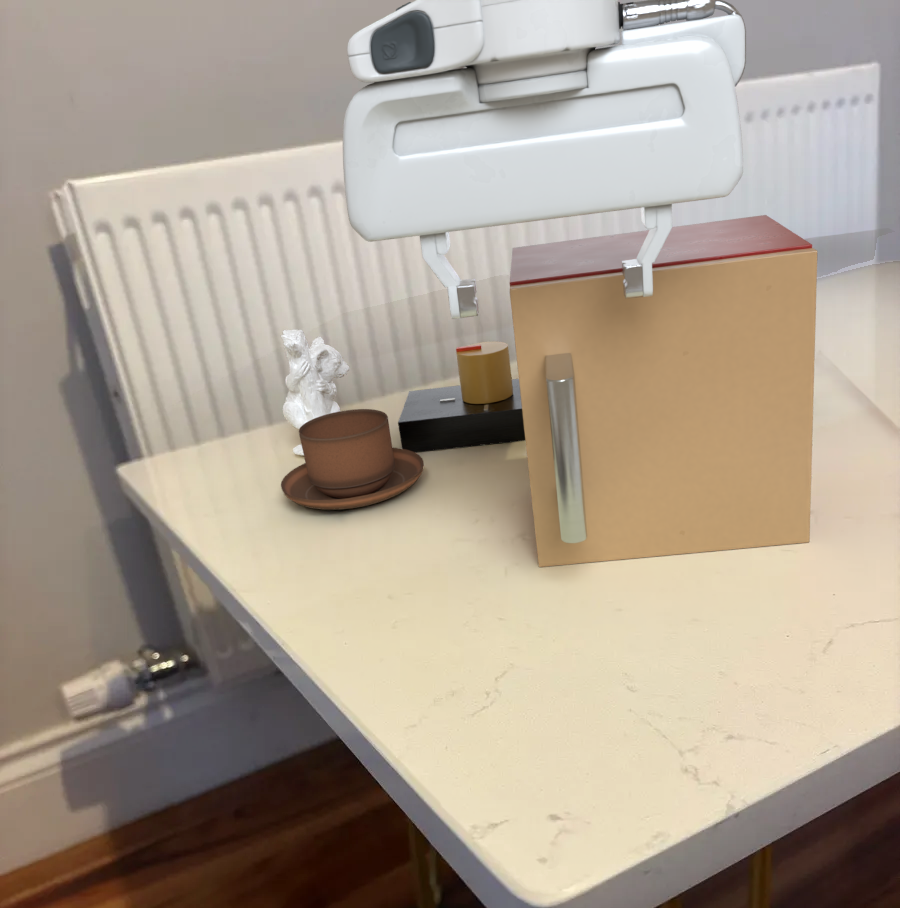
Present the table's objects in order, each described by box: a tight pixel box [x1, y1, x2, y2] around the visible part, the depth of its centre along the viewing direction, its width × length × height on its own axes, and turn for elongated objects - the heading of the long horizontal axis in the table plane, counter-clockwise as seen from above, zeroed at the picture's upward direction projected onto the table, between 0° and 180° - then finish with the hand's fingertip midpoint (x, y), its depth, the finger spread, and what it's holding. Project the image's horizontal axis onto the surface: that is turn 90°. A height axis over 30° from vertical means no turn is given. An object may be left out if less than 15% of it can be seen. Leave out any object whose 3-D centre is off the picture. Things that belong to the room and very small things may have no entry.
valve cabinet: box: [509, 214, 813, 287], centre depth 70 cm, size 13×18×19 cm
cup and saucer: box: [280, 408, 425, 511], centre depth 85 cm, size 12×12×6 cm
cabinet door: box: [509, 247, 818, 568], centre depth 61 cm, size 7×18×18 cm, turn 86°
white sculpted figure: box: [280, 329, 350, 457], centre depth 95 cm, size 8×7×12 cm
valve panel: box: [397, 378, 525, 453], centre depth 97 cm, size 12×10×3 cm
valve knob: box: [455, 340, 513, 404], centre depth 95 cm, size 5×5×5 cm
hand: (550, 306), depth 56 cm, fingers open, 8 cm apart
